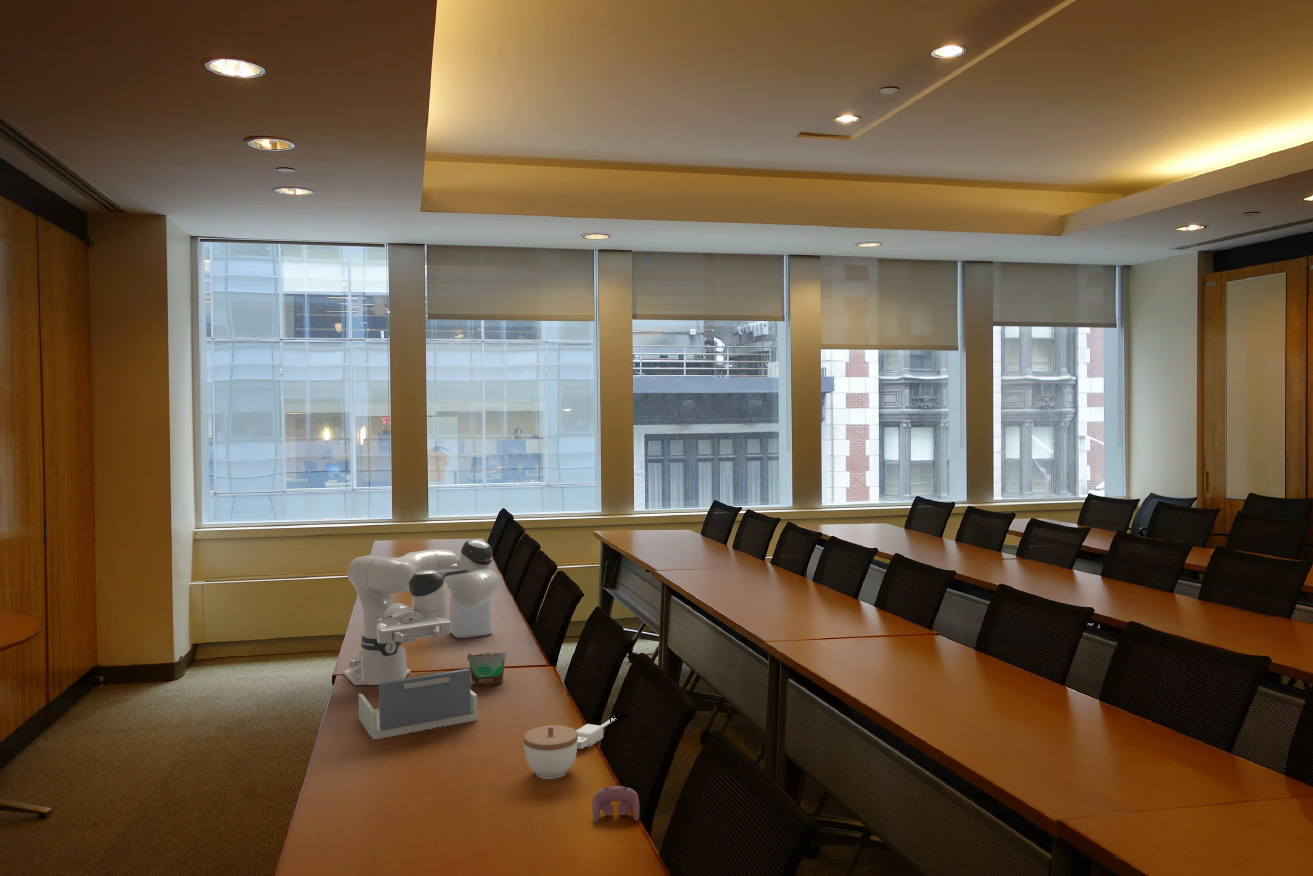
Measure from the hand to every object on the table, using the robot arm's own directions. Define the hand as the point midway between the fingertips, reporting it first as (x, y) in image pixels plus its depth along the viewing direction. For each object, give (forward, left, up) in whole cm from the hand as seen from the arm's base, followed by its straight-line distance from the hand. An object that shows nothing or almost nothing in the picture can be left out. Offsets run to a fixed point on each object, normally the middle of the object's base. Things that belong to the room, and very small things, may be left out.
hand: (421, 636), depth 240 cm
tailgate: (+5, -2, -22) cm, 22 cm away
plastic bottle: (-76, +62, -24) cm, 101 cm away
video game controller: (+79, +1, -24) cm, 82 cm away
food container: (-16, +31, -24) cm, 43 cm away
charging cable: (+39, +31, -25) cm, 56 cm away
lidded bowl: (+51, +5, -24) cm, 57 cm away
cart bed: (-4, +1, -24) cm, 24 cm away
